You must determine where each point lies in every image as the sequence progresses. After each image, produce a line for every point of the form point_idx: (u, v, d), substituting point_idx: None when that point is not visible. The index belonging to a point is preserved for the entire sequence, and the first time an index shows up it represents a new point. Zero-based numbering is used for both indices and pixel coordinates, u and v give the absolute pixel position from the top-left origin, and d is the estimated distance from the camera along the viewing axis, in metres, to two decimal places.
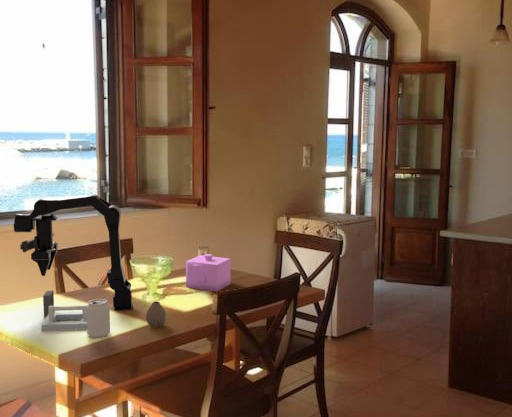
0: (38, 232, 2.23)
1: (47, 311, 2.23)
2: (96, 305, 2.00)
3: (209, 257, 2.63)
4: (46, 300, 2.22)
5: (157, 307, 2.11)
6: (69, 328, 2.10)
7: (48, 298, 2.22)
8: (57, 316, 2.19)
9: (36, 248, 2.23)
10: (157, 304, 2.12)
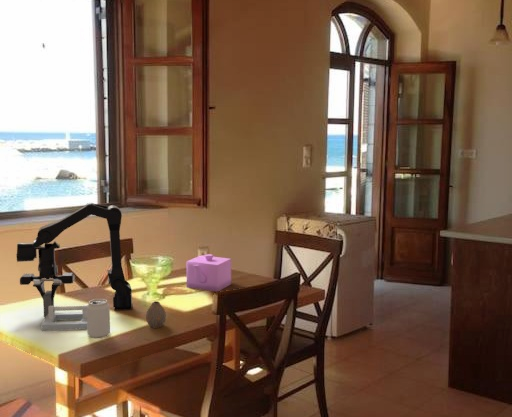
0: (42, 261, 2.21)
1: (47, 311, 2.23)
2: (96, 305, 2.00)
3: (210, 257, 2.63)
4: (46, 300, 2.22)
5: (157, 307, 2.11)
6: (69, 328, 2.10)
7: (48, 298, 2.22)
8: (57, 316, 2.19)
9: None
10: (157, 304, 2.12)
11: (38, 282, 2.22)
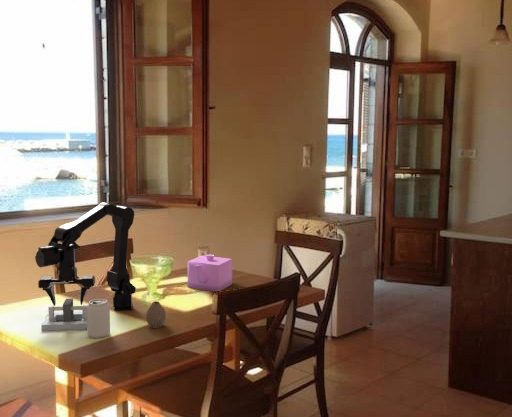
0: (66, 263, 2.10)
1: (67, 320, 2.12)
2: (96, 305, 2.00)
3: (211, 257, 2.62)
4: (66, 309, 2.12)
5: (157, 307, 2.11)
6: (69, 328, 2.10)
7: (68, 307, 2.12)
8: (57, 316, 2.19)
9: None
10: (157, 304, 2.12)
11: None
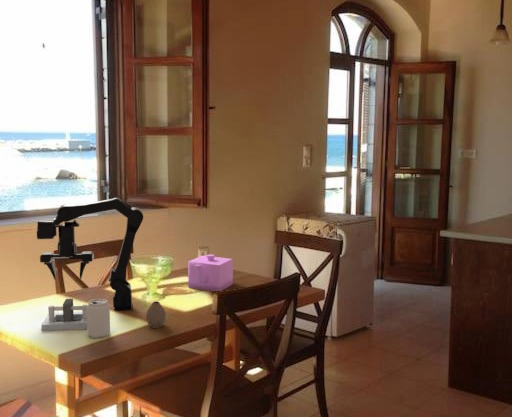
0: (61, 239, 2.22)
1: (67, 320, 2.12)
2: (96, 305, 2.00)
3: (211, 257, 2.62)
4: (66, 309, 2.12)
5: (157, 307, 2.11)
6: (69, 328, 2.10)
7: (68, 307, 2.12)
8: (57, 316, 2.19)
9: None
10: (157, 304, 2.12)
11: None
